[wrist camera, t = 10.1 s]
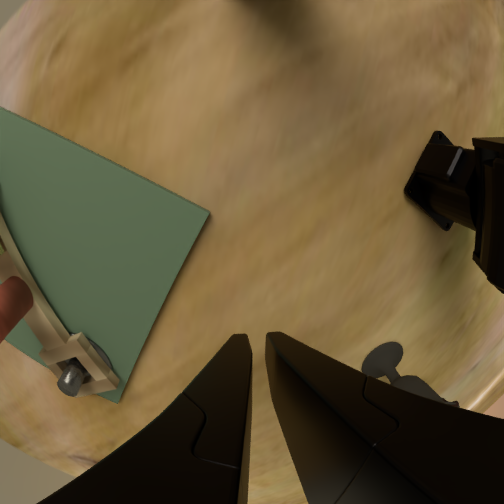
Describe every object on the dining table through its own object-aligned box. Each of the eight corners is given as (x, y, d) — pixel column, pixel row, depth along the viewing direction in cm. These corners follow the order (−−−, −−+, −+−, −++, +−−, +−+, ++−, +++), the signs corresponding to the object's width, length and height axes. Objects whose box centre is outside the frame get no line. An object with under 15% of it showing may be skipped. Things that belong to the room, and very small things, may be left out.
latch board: (209, 211, 20) (209, 213, 19) (118, 399, 25) (117, 403, 25) (-7, 103, 14) (-11, 103, 13) (-36, 301, 20) (-39, 304, 19)
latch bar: (119, 379, 23) (94, 461, 14) (79, 389, 23) (50, 459, 14) (5, 193, 16) (-77, 227, 7) (-26, 225, 16) (-95, 264, 8)
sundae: (418, 349, 27) (492, 445, 13) (374, 389, 28) (429, 493, 14) (392, 323, 25) (481, 438, 11) (341, 370, 26) (402, 496, 12)
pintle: (121, 349, 23) (107, 385, 19) (106, 388, 24) (95, 421, 20) (60, 316, 21) (37, 347, 17) (53, 360, 23) (35, 390, 19)
